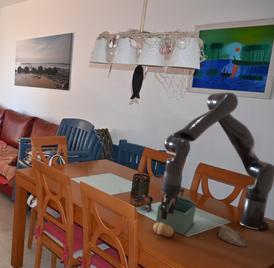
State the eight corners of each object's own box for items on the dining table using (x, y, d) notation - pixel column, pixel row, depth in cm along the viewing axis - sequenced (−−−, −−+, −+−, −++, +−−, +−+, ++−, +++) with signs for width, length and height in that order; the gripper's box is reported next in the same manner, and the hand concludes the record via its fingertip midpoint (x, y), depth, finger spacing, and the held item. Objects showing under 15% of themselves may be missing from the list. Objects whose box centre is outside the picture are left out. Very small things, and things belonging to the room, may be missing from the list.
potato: (174, 236, 149) (176, 225, 149) (170, 240, 145) (172, 229, 145) (154, 230, 155) (156, 219, 154) (150, 233, 151) (152, 222, 150)
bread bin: (182, 234, 152) (186, 214, 150) (155, 225, 160) (158, 205, 158) (192, 223, 165) (196, 204, 163) (167, 215, 173) (169, 197, 171)
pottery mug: (146, 214, 173) (139, 199, 174) (133, 215, 181) (127, 201, 182) (160, 205, 179) (153, 190, 180) (147, 206, 187) (141, 192, 188)
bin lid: (188, 200, 149) (191, 190, 150) (160, 192, 157) (163, 183, 158) (196, 204, 163) (198, 195, 163) (169, 197, 171) (172, 188, 171)
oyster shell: (223, 243, 146) (225, 233, 145) (214, 231, 158) (216, 221, 157) (247, 247, 144) (249, 237, 143) (236, 234, 156) (238, 224, 155)
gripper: (175, 187, 139) (170, 223, 142) (185, 180, 149) (180, 214, 152) (157, 183, 143) (153, 218, 146) (168, 176, 154) (164, 209, 157)
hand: (167, 216), depth 149 cm, fingers open, 8 cm apart
